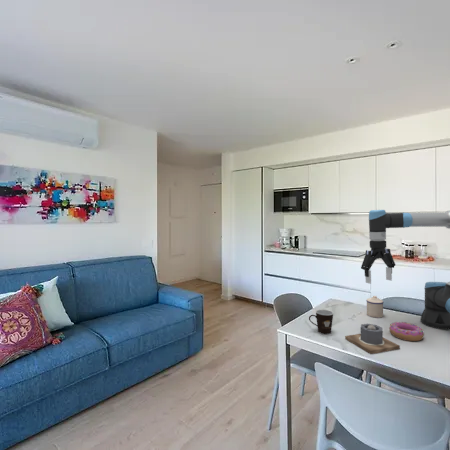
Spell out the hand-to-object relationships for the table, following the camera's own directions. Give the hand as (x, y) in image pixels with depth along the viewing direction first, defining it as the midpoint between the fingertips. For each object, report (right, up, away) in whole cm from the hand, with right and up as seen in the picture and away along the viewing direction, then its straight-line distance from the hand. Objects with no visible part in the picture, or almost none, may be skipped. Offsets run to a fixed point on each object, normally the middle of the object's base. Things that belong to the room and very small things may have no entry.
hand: (378, 281), depth 145 cm
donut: (+11, -27, -4) cm, 29 cm away
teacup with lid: (+11, -25, +26) cm, 38 cm away
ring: (-10, -25, -12) cm, 30 cm away
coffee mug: (-28, -27, +3) cm, 39 cm away
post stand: (-10, -27, -12) cm, 31 cm away
